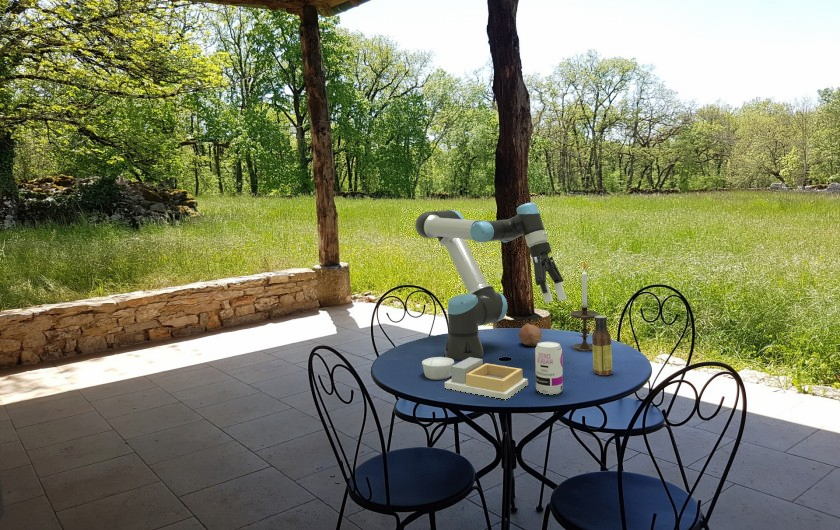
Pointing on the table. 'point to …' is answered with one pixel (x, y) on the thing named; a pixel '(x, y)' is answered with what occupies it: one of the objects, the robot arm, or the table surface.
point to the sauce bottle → (601, 347)
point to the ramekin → (437, 367)
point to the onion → (530, 335)
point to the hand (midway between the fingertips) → (556, 301)
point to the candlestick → (584, 316)
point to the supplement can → (549, 368)
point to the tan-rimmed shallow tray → (486, 379)
